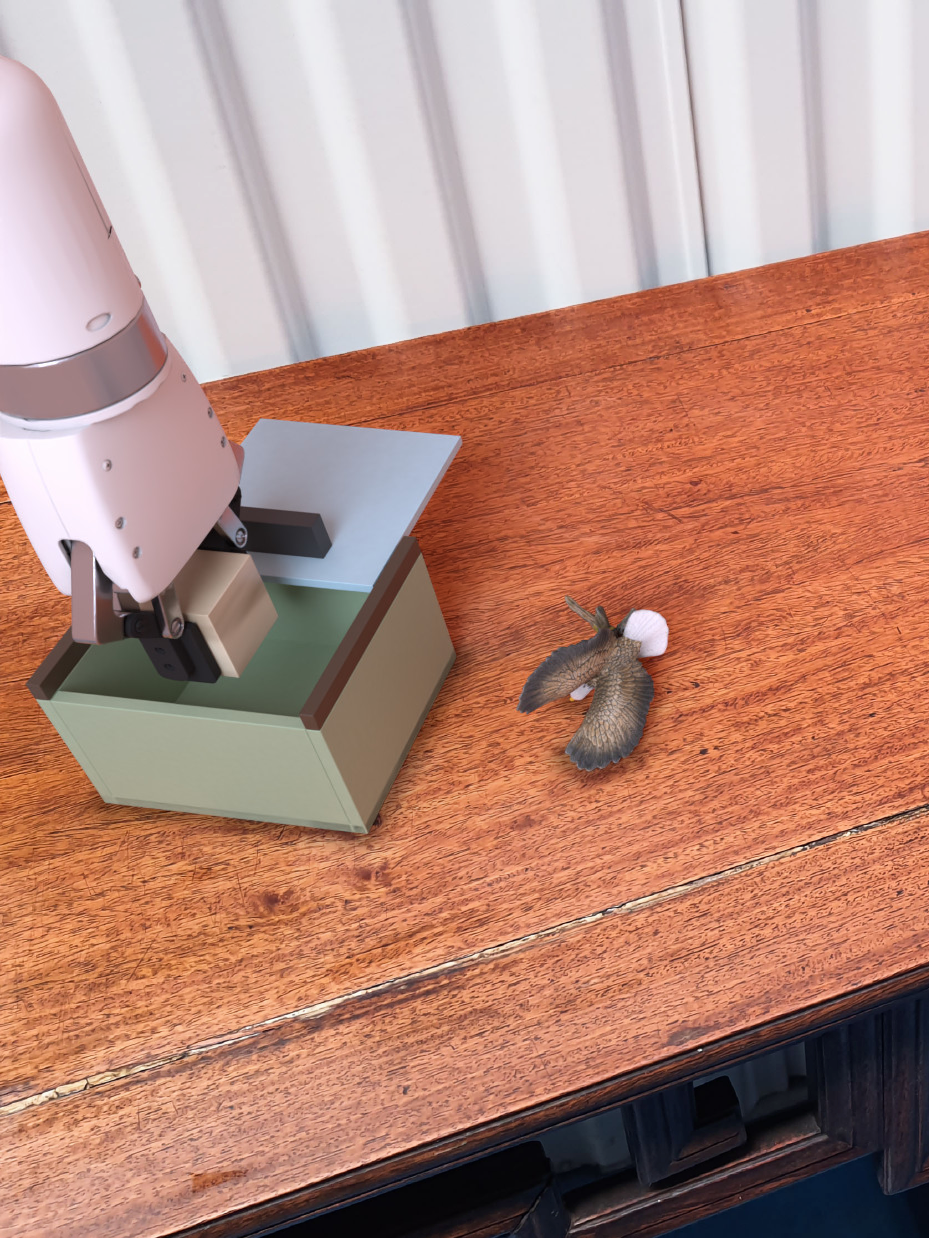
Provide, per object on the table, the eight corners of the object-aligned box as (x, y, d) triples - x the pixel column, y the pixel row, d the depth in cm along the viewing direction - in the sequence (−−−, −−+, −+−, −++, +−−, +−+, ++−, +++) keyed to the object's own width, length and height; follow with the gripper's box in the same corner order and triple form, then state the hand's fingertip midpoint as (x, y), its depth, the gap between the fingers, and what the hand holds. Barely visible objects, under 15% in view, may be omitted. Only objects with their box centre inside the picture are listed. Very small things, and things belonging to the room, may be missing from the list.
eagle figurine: (537, 638, 86) (489, 730, 79) (588, 559, 82) (543, 648, 75) (646, 698, 88) (609, 793, 81) (700, 624, 84) (667, 716, 77)
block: (156, 669, 73) (121, 607, 70) (199, 608, 76) (167, 546, 73) (239, 678, 73) (207, 616, 69) (279, 616, 76) (250, 553, 73)
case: (104, 803, 79) (24, 684, 71) (220, 632, 88) (159, 511, 81) (368, 834, 77) (312, 716, 70) (457, 656, 86) (416, 536, 79)
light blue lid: (153, 571, 79) (132, 531, 77) (263, 425, 88) (247, 386, 86) (375, 593, 78) (360, 554, 76) (463, 443, 87) (451, 404, 85)
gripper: (94, 247, 68) (226, 529, 81) (-135, 465, 56) (63, 755, 69) (240, 258, 67) (350, 541, 80) (39, 482, 55) (206, 771, 68)
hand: (215, 637), depth 74 cm, fingers closed on block, 4 cm apart
